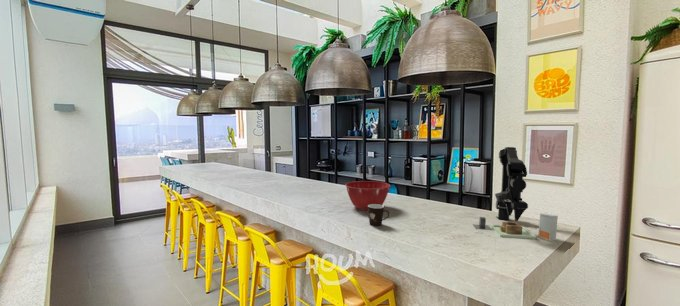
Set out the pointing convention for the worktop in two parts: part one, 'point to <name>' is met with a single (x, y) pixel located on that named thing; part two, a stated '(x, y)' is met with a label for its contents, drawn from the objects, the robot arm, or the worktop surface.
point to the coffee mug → (376, 214)
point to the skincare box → (548, 226)
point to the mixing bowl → (367, 193)
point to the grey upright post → (482, 224)
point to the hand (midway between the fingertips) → (512, 218)
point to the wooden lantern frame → (511, 228)
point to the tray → (525, 234)
